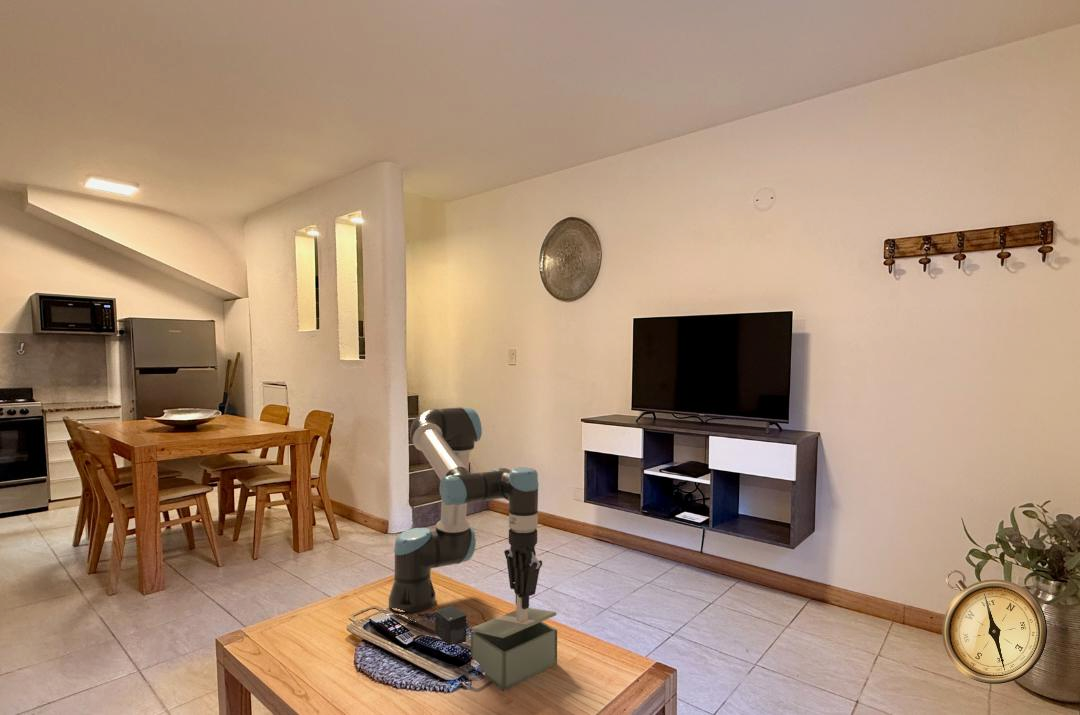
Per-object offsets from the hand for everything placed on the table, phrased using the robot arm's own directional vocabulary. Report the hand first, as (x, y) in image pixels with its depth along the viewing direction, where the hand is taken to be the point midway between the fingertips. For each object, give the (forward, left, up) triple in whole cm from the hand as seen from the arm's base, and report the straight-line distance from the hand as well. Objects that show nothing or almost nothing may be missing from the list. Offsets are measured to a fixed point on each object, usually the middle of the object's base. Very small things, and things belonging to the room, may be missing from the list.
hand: (522, 619), depth 137 cm
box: (-20, -9, -13) cm, 26 cm away
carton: (-3, 0, -13) cm, 13 cm away
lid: (-3, 0, -2) cm, 4 cm away
